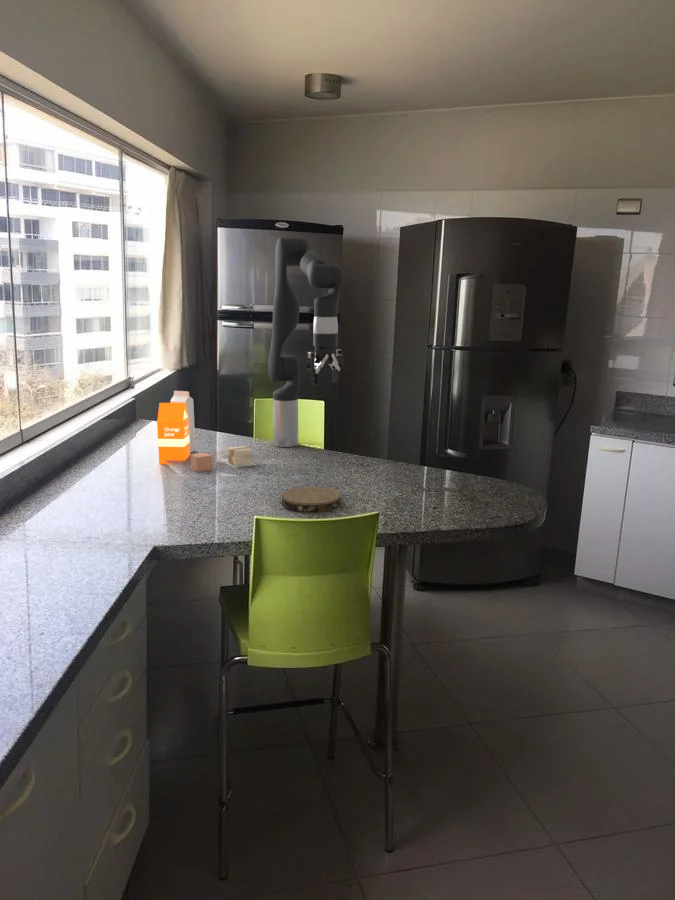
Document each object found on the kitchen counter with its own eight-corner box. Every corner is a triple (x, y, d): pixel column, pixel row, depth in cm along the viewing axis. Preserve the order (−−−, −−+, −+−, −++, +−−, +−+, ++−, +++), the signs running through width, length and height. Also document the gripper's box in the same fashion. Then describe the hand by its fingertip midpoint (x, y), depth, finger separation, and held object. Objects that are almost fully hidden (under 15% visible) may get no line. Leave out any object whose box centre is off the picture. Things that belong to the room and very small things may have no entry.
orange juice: (185, 464, 238) (182, 405, 233) (158, 464, 238) (155, 404, 234) (190, 458, 246) (188, 401, 241) (164, 458, 246) (161, 400, 241)
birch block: (228, 462, 235) (227, 447, 234) (245, 460, 238) (244, 445, 237) (235, 466, 230) (234, 451, 229) (252, 464, 233) (252, 449, 232)
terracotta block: (191, 472, 228) (190, 454, 227) (206, 470, 231) (205, 452, 229) (196, 476, 224) (196, 457, 223) (212, 473, 226) (211, 455, 225)
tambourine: (352, 505, 196) (352, 494, 195) (309, 518, 185) (308, 507, 184) (313, 493, 207) (313, 483, 206) (270, 504, 196) (270, 494, 196)
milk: (180, 450, 258) (177, 389, 253) (195, 451, 257) (193, 390, 252) (172, 453, 253) (169, 391, 248) (187, 454, 251) (184, 392, 246)
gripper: (333, 329, 227) (332, 380, 231) (300, 332, 217) (300, 385, 221) (350, 331, 222) (349, 383, 225) (317, 333, 212) (317, 387, 216)
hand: (325, 384), depth 223 cm, fingers open, 8 cm apart
